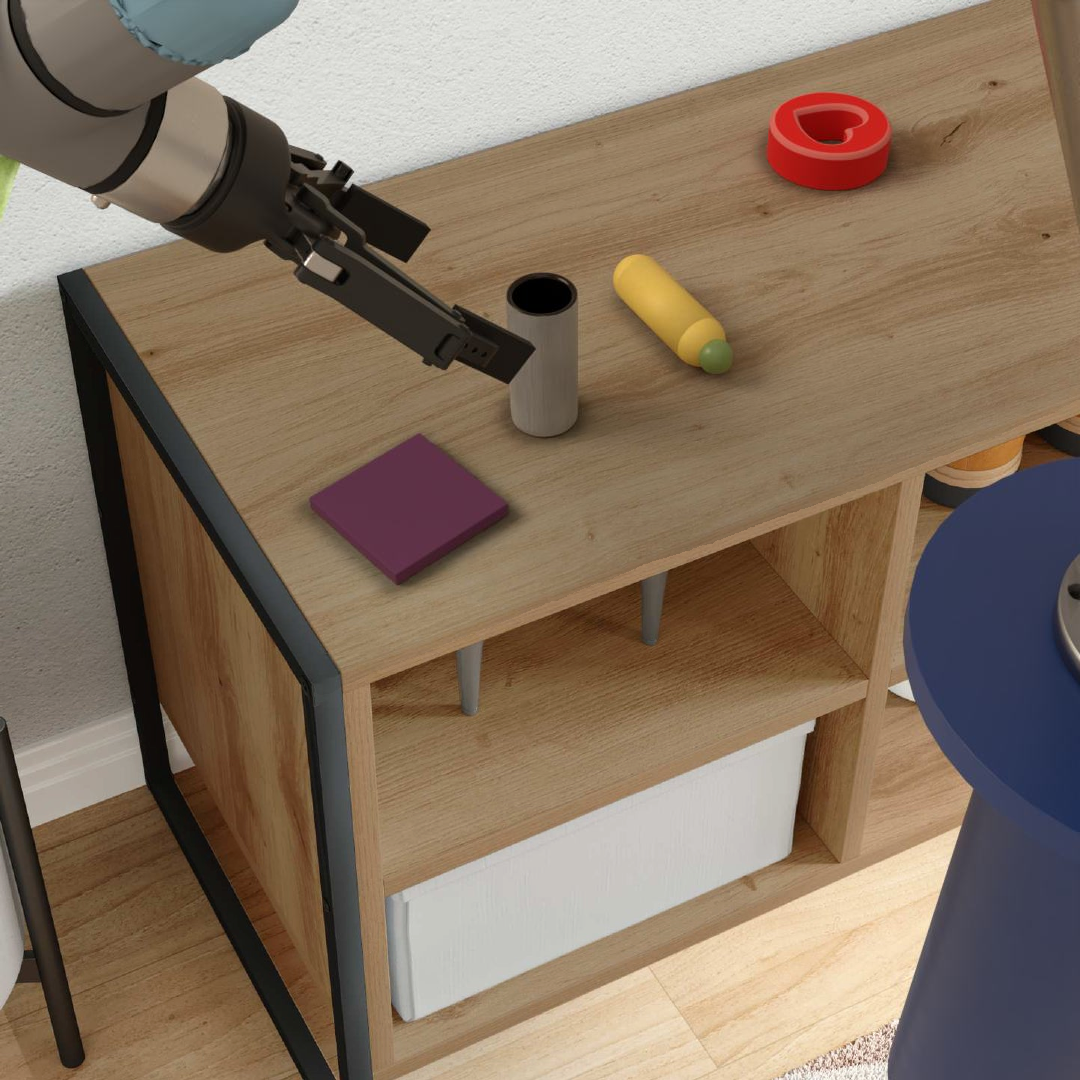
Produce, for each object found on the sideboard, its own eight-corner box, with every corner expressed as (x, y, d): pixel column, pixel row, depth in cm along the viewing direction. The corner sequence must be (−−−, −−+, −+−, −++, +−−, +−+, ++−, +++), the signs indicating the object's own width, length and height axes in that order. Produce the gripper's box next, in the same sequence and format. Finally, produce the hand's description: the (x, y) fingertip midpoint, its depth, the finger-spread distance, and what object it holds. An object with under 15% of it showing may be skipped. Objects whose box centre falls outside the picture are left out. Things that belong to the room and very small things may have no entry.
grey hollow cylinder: (564, 444, 104) (563, 322, 97) (501, 429, 105) (495, 307, 98) (587, 401, 107) (587, 279, 100) (524, 387, 108) (520, 265, 101)
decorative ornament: (771, 119, 131) (775, 85, 129) (889, 129, 130) (894, 95, 127) (761, 184, 125) (764, 149, 122) (884, 195, 123) (890, 160, 121)
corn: (745, 377, 109) (749, 337, 106) (702, 395, 108) (705, 354, 105) (645, 278, 117) (646, 238, 114) (603, 294, 115) (604, 253, 113)
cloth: (508, 514, 100) (508, 503, 99) (396, 585, 96) (395, 574, 95) (420, 443, 105) (419, 432, 104) (310, 508, 101) (308, 497, 100)
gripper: (74, 107, 89) (345, 245, 105) (239, 352, 74) (527, 470, 89) (145, -5, 87) (411, 152, 102) (330, 223, 72) (609, 367, 87)
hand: (466, 301), depth 96 cm, fingers open, 13 cm apart
